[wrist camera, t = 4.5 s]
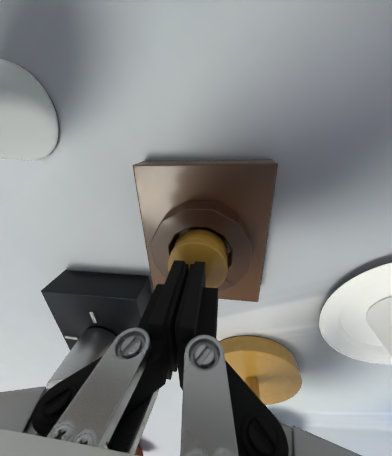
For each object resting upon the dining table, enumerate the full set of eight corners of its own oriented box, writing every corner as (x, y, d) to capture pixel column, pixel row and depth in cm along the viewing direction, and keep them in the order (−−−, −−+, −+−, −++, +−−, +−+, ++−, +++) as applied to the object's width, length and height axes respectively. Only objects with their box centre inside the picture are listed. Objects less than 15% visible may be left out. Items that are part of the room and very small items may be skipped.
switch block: (142, 161, 14) (118, 169, 11) (272, 159, 13) (286, 168, 10) (159, 280, 19) (146, 309, 16) (255, 287, 18) (261, 321, 15)
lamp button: (172, 227, 13) (164, 241, 11) (228, 229, 12) (228, 244, 11) (176, 272, 14) (169, 290, 13) (226, 276, 14) (226, 294, 12)
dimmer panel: (65, 269, 20) (39, 292, 17) (148, 275, 19) (135, 301, 16) (94, 344, 25) (78, 371, 23) (162, 353, 24) (153, 382, 21)
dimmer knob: (78, 325, 19) (35, 381, 15) (117, 329, 18) (83, 389, 14) (89, 351, 21) (53, 408, 16) (125, 355, 20) (97, 416, 16)
